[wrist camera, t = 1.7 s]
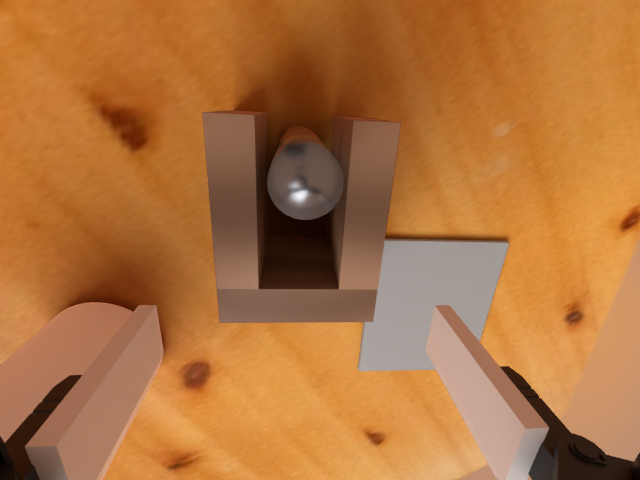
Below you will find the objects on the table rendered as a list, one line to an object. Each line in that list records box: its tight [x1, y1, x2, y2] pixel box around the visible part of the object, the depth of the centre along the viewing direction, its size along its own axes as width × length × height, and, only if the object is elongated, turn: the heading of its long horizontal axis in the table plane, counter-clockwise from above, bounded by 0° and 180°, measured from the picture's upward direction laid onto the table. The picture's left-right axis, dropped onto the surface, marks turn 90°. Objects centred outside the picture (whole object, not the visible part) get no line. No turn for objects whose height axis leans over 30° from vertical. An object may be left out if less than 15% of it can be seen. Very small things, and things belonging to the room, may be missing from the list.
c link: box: [203, 110, 401, 323], centre depth 18 cm, size 10×8×7 cm
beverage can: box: [0, 302, 163, 480], centre depth 19 cm, size 8×8×12 cm
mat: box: [358, 238, 509, 371], centre depth 25 cm, size 12×10×1 cm
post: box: [267, 126, 344, 220], centre depth 16 cm, size 3×3×10 cm
